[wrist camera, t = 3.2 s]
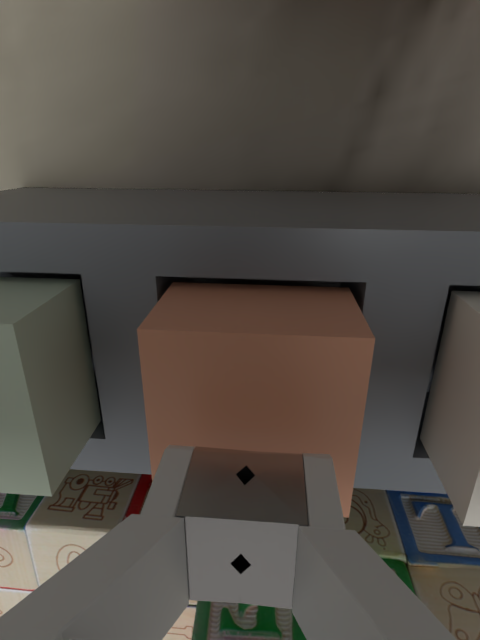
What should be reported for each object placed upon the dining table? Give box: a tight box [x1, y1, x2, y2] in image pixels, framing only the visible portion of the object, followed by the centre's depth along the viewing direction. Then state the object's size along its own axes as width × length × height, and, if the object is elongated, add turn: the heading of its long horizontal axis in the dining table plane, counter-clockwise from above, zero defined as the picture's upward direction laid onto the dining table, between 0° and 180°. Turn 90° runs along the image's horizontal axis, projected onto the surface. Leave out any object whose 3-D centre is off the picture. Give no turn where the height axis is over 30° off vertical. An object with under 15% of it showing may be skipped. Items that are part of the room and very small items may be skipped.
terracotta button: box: [137, 282, 375, 518], centre depth 10 cm, size 4×4×3 cm
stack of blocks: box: [0, 469, 480, 640], centre depth 17 cm, size 21×6×12 cm, turn 88°
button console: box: [0, 188, 480, 494], centre depth 15 cm, size 8×22×8 cm, turn 90°
